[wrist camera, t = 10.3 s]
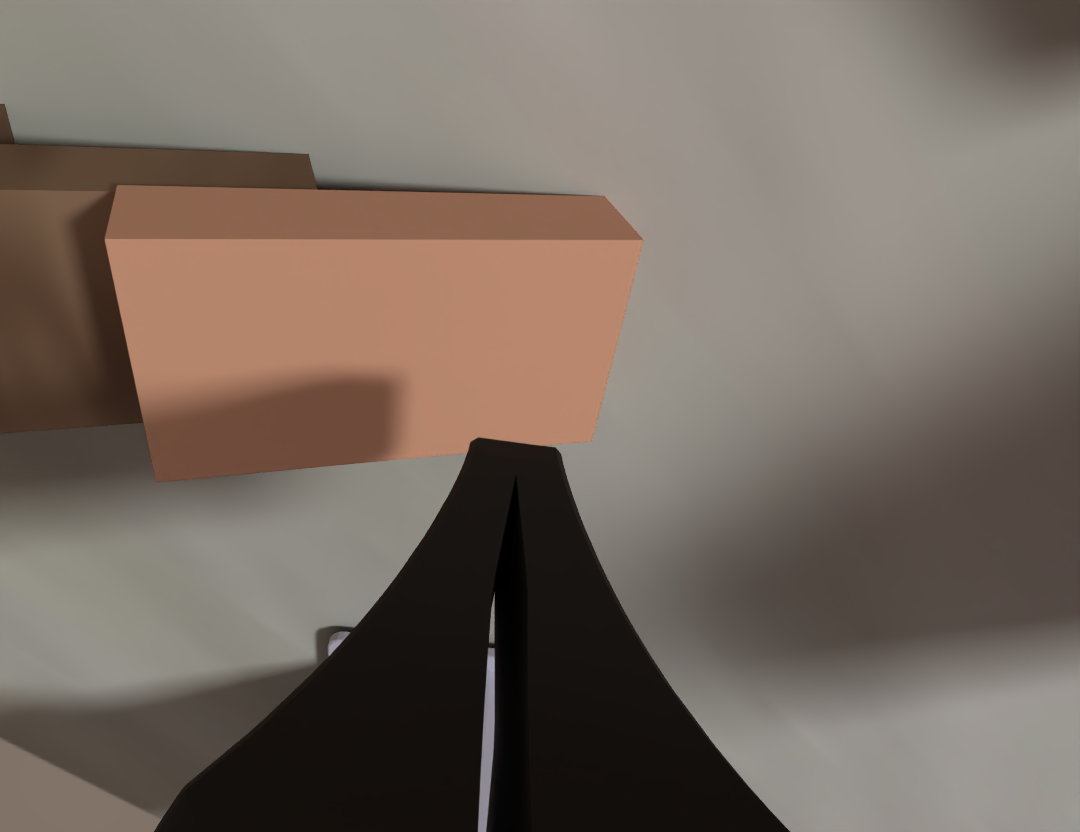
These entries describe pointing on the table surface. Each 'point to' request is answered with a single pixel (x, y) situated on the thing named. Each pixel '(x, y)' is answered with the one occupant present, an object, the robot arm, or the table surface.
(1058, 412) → the table surface
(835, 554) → the table surface
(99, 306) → the domino
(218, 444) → the domino
